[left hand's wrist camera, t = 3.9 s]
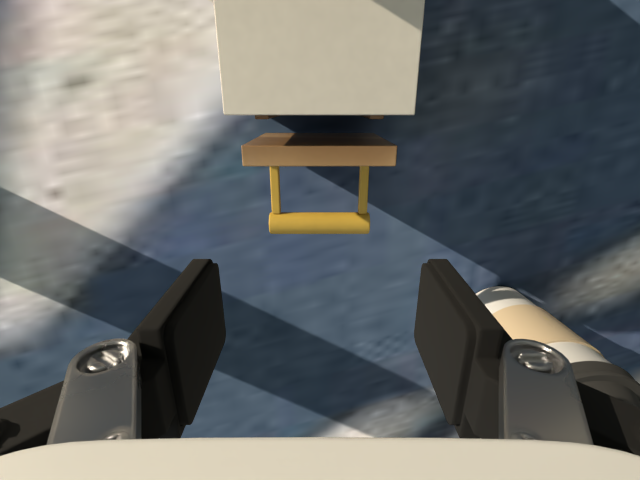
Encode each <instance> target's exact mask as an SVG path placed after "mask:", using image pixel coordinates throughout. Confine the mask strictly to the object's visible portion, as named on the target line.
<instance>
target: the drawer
mask: <svg viewBox="0 0 640 480" xmlns="http://www.w3.org/2000/svg"><path fill="white" fill-rule="evenodd" d="M277 116H280V115H255V119H270V118H273V117H277ZM359 116H362V117H366V118H369V119H383V118H384V115H359ZM241 148H242V161H243V166H270V182H271V202H272V212H271V213H270V215H269V231H270V233H271V234H368V233H369V230H370V216H369V213H368V212H367V199H368V179H369V166H396V157H397V146H396V145H395V144H393V143H391V142H389V141H387V140H385V139H383V138H382V137H380V136H378V135H376V134H374V133H265V134H263V135H261V136H259V137H257V138H255V139H254V140H252V141H250V142H248V143H246V144H244V145H242V146H241ZM279 166H360V173H359V198H358V212H281V201H280V176H279Z"/></svg>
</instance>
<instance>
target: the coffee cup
mask: <svg viewBox="0 0 640 480" xmlns="http://www.w3.org/2000/svg"><path fill="white" fill-rule="evenodd" d="M476 295H477V296H478V298H479V299H480V300H481V301H482V302H483V304H484V305H485V306H486V307H487V309H488V310H489V311H490V312H491V313H492V315H493V316H494V317H495V318H496V319H497V321H498V322H499V323H500V324H501V326H502V327H503V328H504V329H505V331H506V332H507V333H508V334H509V335H510V337H511V338H512V339H529V340H535V341H538V342H541V343H544V344H547V345H549V346H551V347H553V348H555V349H556V350H558V351H559V352H561V353H562V354H563V355H564V356H565V357H566V358H567V359H568V360H569V362H570V364H571V365H572V369H573V372H574V376H575V380H576V381H578V382H580V383H583V384H585V385H587V386H590V387H592V388H594V389H596V390H599V391H601V392H603V393H606V394H608V395H610V396H613V397H615V398H617V399H620V400H622V401H624V402H626V403H629V404H631V405H633V406H636V407H638V408H640V384H639V383H638V382H636V381H635V380H634V378H633V377H632V376H631V375H630V374H629V373H628V372H627V371H625V370H624V369H622V368H620V367H618V366H616V365H614V364H611V363H610V362H609V361H607V360H606V359H605V358H604V356H603V355H602V354H601V353H600V352H599V351H598V350H597V349H596V348H594V347H593V346H592V345H590V344H589V343H588V342H586V341H585V340H584V339H582V338H581V337H580V336H578V335H577V334H576V333H574V332H573V331H572V330H571V329H569V328H568V327H567V326H565V325H564V324H563V323H561V322H560V321H559V320H557V319H556V318H555V317H553V316H552V315H551V314H549V313H548V312H547V311H545V310H544V309H542V308H540V307H537V306H536V305H535V304H533V303H532V302H531V301H530V300H528V299H527V298H526V297H524V296H523V295H522V294H520V293H519V292H518V291H516V290H514V289H512V288H509V287H504V286H496V287H490V288H487V289H484V290H482V291H480V292H478V293H477V294H476Z"/></svg>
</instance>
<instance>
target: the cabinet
mask: <svg viewBox="0 0 640 480" xmlns="http://www.w3.org/2000/svg"><path fill="white" fill-rule="evenodd" d="M213 1H214V12H215V23H216V34H217V45H218V56H219V67H220V78H221V88H222V99H223V110H224V115H414V114H415V105H416V94H417V83H418V72H419V60H420V49H421V38H422V27H423V16H424V5H425V0H213Z"/></svg>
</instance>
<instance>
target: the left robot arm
mask: <svg viewBox="0 0 640 480" xmlns="http://www.w3.org/2000/svg"><path fill="white" fill-rule="evenodd" d="M225 338H226V329H225V321H224V312H223V303H222V294H221V285H220V276H219V268H218V264H217V263H213V262H212V260H211V259H193V260H192V261H191V262H190V264H189V265H188V266H187V267H186V268H185V270H184V271H183V272H182V273H181V274H180V276H179V277H178V278H177V279H176V281H175V282H174V283H173V284H172V285H171V287H170V288H169V289H168V290H167V291H166V293H165V294H164V295H163V296H162V298H161V299H160V300H159V301H158V302H157V304H156V305H155V306H154V307H153V309H152V310H151V311H150V312H149V313H148V315H147V316H146V317H145V318H144V319H143V321H142V322H141V323H140V324H139V326H138V327H137V328H136V329H135V331H134V332H133V333H132V334H131V335H130V337H129V338H128V339H111V340H105V341H102V342H99V343H96V344H93V345H91V346H89V347H87V348H85V349H84V350H82V351H81V352H79V353H78V354H77V355H76V356H75V357H74V358H73V359H72V360H71V362H70V364H69V365H68V369H67V372H66V376H65V380H64V381H62V382H60V383H57V384H55V385H53V386H50V387H48V388H46V389H44V390H41V391H39V392H37V393H34V394H32V395H30V396H27V397H25V398H23V399H20V400H18V401H16V402H14V403H11V404H9V405H7V406H4V407H2V408H0V480H640V408H638V407H636V406H633V405H631V404H629V403H626V402H624V401H622V400H620V399H617V398H615V397H613V396H610V395H608V394H606V393H603V392H601V391H599V390H596V389H594V388H592V387H590V386H587V385H585V384H583V383H580V382H578V381H576V380H575V376H574V372H573V369H572V365H571V364H570V362H569V360H568V359H567V358H566V357H565V356H564V355H563V354H562V353H561V352H559V351H558V350H556V349H555V348H553V347H551V346H549V345H547V344H544V343H541V342H538V341H535V340H529V339H512V338H511V337H510V335H509V334H508V333H507V332H506V331H505V329H504V328H503V327H502V326H501V324H500V323H499V322H498V321H497V319H496V318H495V317H494V316H493V315H492V313H491V312H490V311H489V310H488V309H487V307H486V306H485V305H484V304H483V302H482V301H481V300H480V299H479V298H478V296H477V295H476V294H475V293H474V292H473V290H472V289H471V288H470V287H469V285H468V284H467V283H466V282H465V281H464V279H463V278H462V277H461V276H460V274H459V273H458V272H457V271H456V270H455V268H454V267H453V266H452V265H451V264H450V262H449V261H448V260H447V259H429V260H428V262H427V263H423V264H422V268H421V276H420V285H419V294H418V303H417V312H416V321H415V329H414V338H415V343H416V345H417V348H418V350H419V353H420V355H421V358H422V360H423V363H424V365H425V368H426V370H427V373H428V375H429V378H430V380H431V383H432V385H433V388H434V390H435V392H436V395H437V397H438V400H439V402H440V405H441V407H442V410H443V412H444V415H445V417H446V420H447V422H448V424H449V425H454V426H455V428H456V430H457V433H458V435H459V438H342V437H298V438H181V435H182V433H183V430H184V428H185V426H186V425H191V424H192V422H193V420H194V417H195V415H196V412H197V410H198V407H199V405H200V402H201V400H202V397H203V395H204V392H205V390H206V387H207V385H208V383H209V380H210V378H211V375H212V373H213V370H214V368H215V365H216V363H217V360H218V358H219V355H220V353H221V350H222V348H223V345H224V342H225ZM158 438H160V439H158ZM480 438H482V439H480Z"/></svg>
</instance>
